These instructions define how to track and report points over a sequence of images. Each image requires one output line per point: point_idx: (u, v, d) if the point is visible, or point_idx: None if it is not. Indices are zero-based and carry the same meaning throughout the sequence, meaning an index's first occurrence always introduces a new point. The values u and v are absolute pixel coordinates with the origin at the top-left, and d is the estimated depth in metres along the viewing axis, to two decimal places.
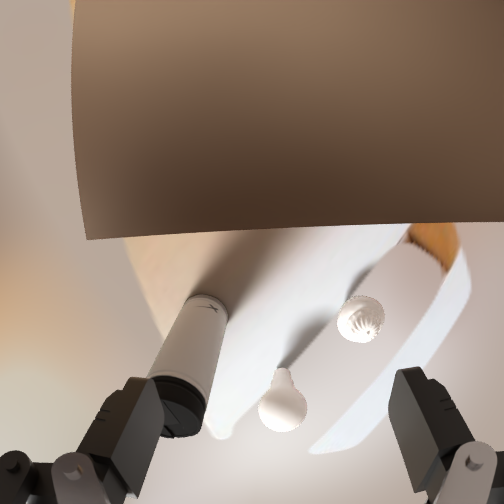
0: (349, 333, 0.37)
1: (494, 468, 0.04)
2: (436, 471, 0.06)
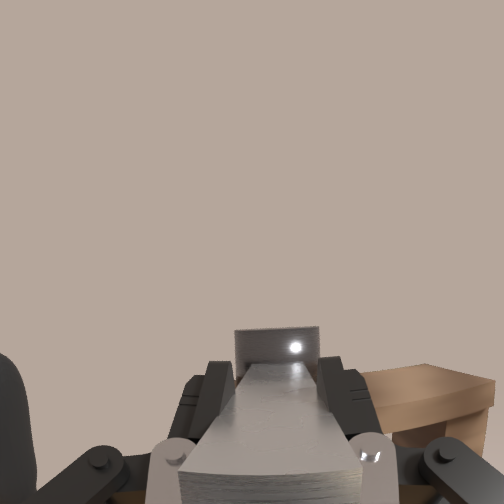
0: None
1: (389, 462, 0.06)
2: None
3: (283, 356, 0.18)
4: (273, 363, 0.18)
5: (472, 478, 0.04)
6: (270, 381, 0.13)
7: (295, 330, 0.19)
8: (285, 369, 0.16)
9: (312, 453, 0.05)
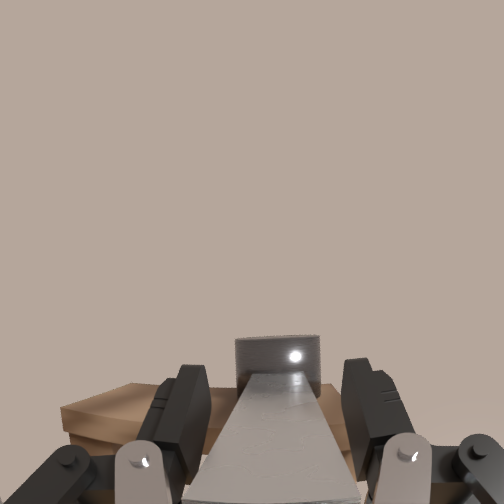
0: None
1: (426, 462, 0.05)
2: (372, 460, 0.07)
3: (283, 366, 0.18)
4: (274, 373, 0.18)
5: (501, 476, 0.04)
6: (271, 395, 0.13)
7: (296, 340, 0.18)
8: (286, 380, 0.16)
9: (312, 479, 0.05)
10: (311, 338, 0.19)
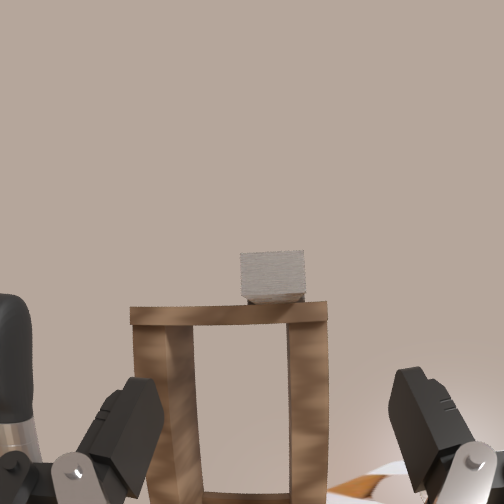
0: None
1: (494, 468, 0.04)
2: (436, 471, 0.06)
3: None
4: None
5: None
6: None
7: None
8: None
9: None
10: None
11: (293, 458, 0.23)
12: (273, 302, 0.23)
